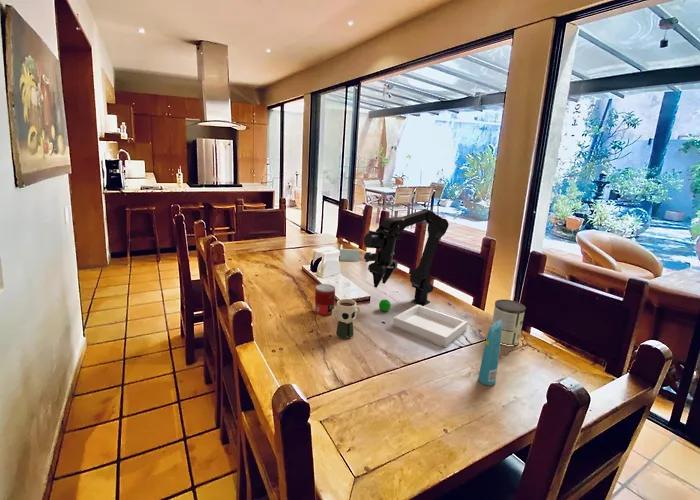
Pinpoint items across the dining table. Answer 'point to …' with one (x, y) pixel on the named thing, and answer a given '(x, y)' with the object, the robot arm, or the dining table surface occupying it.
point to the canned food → (324, 299)
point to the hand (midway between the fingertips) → (379, 285)
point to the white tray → (430, 325)
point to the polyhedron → (384, 305)
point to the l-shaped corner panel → (349, 254)
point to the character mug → (345, 317)
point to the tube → (491, 355)
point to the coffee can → (509, 320)
